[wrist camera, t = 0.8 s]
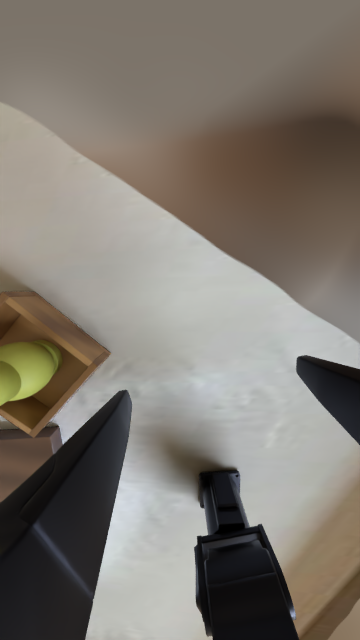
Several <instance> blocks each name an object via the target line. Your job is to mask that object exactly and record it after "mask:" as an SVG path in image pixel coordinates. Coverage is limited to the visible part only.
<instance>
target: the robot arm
mask: <svg viewBox="0 0 360 640" xmlns="http://www.w3.org/2000/svg"><path fill="white" fill-rule="evenodd" d="M296 371H297V374H298V375H299V377H300V378H301V379H302V380H303V382H304V383H305V384H306V386H307V387H308V388H309V389H310V391H311V392H312V393H313V394H314V396H315V397H316V398H317V399H318V401H319V402H320V403H321V404H322V405H323V406H324V407H325V408H326V409H327V410H328V412H329V413H330V414H331V415H332V416H333V417H334V418H335V419H336V420H337V421H338V422H339V423H340V424H341V425H342V426H343V428H344V429H345V430H346V431H347V432H348V433H349V434H350V435H351V436H352V437H353V438H354V439H355V440H356V441H357V442H358V444H359V445H360V369H357V368H353V367H349V366H345V365H342V364H338V363H334V362H330V361H326V360H323V359H319V358H315V357H311V356H307V355H304V356H299V357H298V358H297V365H296ZM131 412H132V401H131V398H130V395H129V393H128V391H127V390H122V391H119V392H117V393H116V394H115V395H114V396H113V397H112V398H111V399H110V400H109V401H108V402H107V403H106V404H105V405H104V406H103V407H102V408H101V409H100V410H99V411H98V412H97V413H96V414H95V415H94V416H93V417H91V418H90V419H89V420H88V421H87V422H86V423H85V424H84V425H83V426H82V427H81V428H80V429H79V430H78V431H77V432H76V433H75V434H74V435H73V436H72V437H71V438H70V439H69V440H68V441H67V442H65V443H64V444H63V445H62V446H61V447H60V448H59V449H58V450H57V451H56V453H54V454H53V455H52V456H51V457H50V458H49V459H48V460H47V461H46V462H45V463H44V464H43V465H41V466H40V467H39V468H38V469H37V470H36V471H35V472H34V473H33V474H32V475H31V476H30V477H29V478H27V479H26V480H25V481H24V482H23V483H22V484H21V485H20V486H19V487H17V488H16V489H15V490H14V491H13V492H12V493H11V494H10V495H8V496H7V497H6V498H5V499H4V500H3V501H2V502H0V640H85V637H86V633H87V628H88V623H89V619H90V614H91V610H92V605H93V599H94V595H95V590H96V586H97V581H98V577H99V572H100V567H101V563H102V558H103V553H104V549H105V544H106V540H107V535H108V530H109V526H110V521H111V517H112V512H113V507H114V503H115V498H116V494H117V489H118V484H119V480H120V475H121V470H122V466H123V461H124V457H125V452H126V447H127V443H128V437H129V430H130V421H131ZM199 487H200V507H201V508H205V515H206V522H207V530H208V535H207V536H197V543H198V544H197V545H196V547H195V548H194V550H195V564H196V605H197V608H198V609H199V611H200V612H201V614H202V618H203V622H204V624H205V630H206V635H207V636H213V640H299V638H298V635H297V632H296V629H295V626H294V623H293V620H296V614H295V610H294V606H293V603H292V599H291V596H290V593H289V590H288V587H287V584H286V581H285V578H284V575H283V573H282V570H281V568H280V565H279V563H278V560H277V558H276V556H275V554H274V551H273V549H272V547H271V544H270V542H269V540H268V538H267V535H266V533H265V531H264V528H263V526H262V524H258V526H254V527H250V526H249V523H248V520H247V517H246V514H245V511H244V508H243V504H242V501H241V498H240V474H239V472H238V471H222V472H207V473H200V474H199Z"/></svg>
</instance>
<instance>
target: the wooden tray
mask: <svg viewBox="0 0 360 640" xmlns="http://www.w3.org/2000/svg"><path fill="white" fill-rule="evenodd" d="M35 340H45V341H49V342H51V343H53V344H54V345H55V346H57V348H58V349H59V350H60V352H61V354H62V358H63V363H62V366H61V368H60V370H59V371H58V372H57V373H56V374H54V375H53V376H52V377H51V379H50V381H49V382H48V383H47V384H46V385H45V386H44V387H43V388H42V389H41V390H40V391H38V392H37V393H35V394H33V395H31V396H29V397H26V398H23V399H20V400H14V401H7V402H5V403H4V404H2V405H1V406H0V415H1V416H2V417H4V418H5V419H7V420H8V421H10V422H11V423H13V424H14V425H16V426H17V427H18V428H20V429H21V430H23V431H24V432H26V433H27V434H29V435H30V436H32V437H33V438H34V437H35V436H36V435H37V434H38V433H39V432H40V431H41V430H42V429H43V428H44V427H45V426H46V425H47V424H48V423H49V422H50V421H51V420H52V419H53V418H54V417H55V416H56V415H57V413H58V412H59V411H60V410H61V409H62V408H63V407H64V406H65V405H66V403H67V402H68V401H69V400H70V399H71V398H72V397H73V396H74V395H75V393H76V392H77V391H78V390H79V389H80V388H81V387H82V386H83V384H84V383H85V382H86V381H87V380H88V379H89V378H90V377H91V376H92V374H93V373H94V372H95V371H96V370H97V369H98V368H99V367H100V366H101V364H102V363H103V362H104V361H105V360H106V359H107V358H108V357H109V356H110V354H111V353H110V352H109V351H107V350H106V349H105V348H104V347H102V346H101V345H100V344H99V343H97V342H96V341H95V340H94V339H93V338H91V337H90V336H89V335H88V334H86V333H85V332H84V331H83V330H81V329H80V328H79V327H78V326H76V325H75V324H74V323H73V322H71V321H70V320H69V319H68V318H67V317H65V316H64V315H63V314H62V313H60V312H59V311H58V310H57V309H55V308H54V307H53V306H52V305H50V304H49V303H48V302H47V301H45V300H44V299H43V298H42V297H40V296H39V295H38V294H37V293H36V292H2V293H1V294H0V347H1V346H4V345H7V344H11V343H16V342H32V341H35Z"/></svg>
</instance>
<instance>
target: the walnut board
mask: <svg viewBox="0 0 360 640" xmlns="http://www.w3.org/2000/svg"><path fill="white" fill-rule="evenodd" d="M61 446H62V440H61V434H60V429H59V427H46V428H43V429H42V430H41V431H40V432H39V433H38V434H37V435H36V436H35V437H34V438H33V437H32V436H30V435H29V434H27V433H26V432H24V431H23V430H21V429H12V430H0V502H2V501H3V500H4V499H5V498H6V497H7V496H8V495H10V494H11V493H12V492H13V491H14V490H15V489H16V488H17V487H19V486H20V485H21V484H22V483H23V482H24V481H25V480H26V479H27V478H29V477H30V476H31V475H32V474H33V473H34V472H35V471H36V470H37V469H38V468H39V467H40V466H41V465H43V464H44V463H45V462H46V461H47V460H48V459H49V458H50V457H51V456H52V455H53V454H54V453H56V451H57V450H58V449H59V448H60V447H61Z"/></svg>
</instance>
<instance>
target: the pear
mask: <svg viewBox="0 0 360 640" xmlns="http://www.w3.org/2000/svg"><path fill="white" fill-rule="evenodd" d="M62 363H63V358H62V354H61V352H60V350H59V349H58V348H57V346H55V345H54V344H53V343H51V342H49V341H45V340H35V341H32V342H16V343H11V344H7V345H4V346H1V347H0V406H1V405H2V404H4V403H5V402H7V401H14V400H20V399H23V398H26V397H29V396H31V395H33V394H35V393H37V392H38V391H40V390H41V389H42V388H43V387H44V386H45V385H46V384H47V383H48V382H49V381H50V379H51V377H52V376H53V375H54V374H56V373H57V372H58V371H59V370H60V368H61V366H62Z"/></svg>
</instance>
